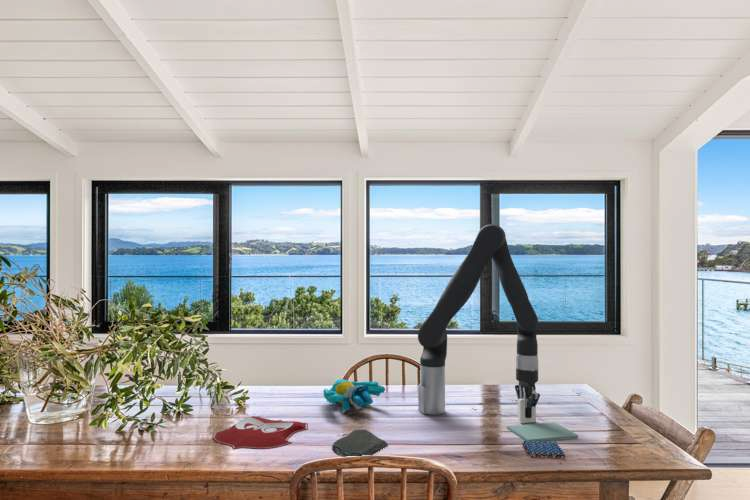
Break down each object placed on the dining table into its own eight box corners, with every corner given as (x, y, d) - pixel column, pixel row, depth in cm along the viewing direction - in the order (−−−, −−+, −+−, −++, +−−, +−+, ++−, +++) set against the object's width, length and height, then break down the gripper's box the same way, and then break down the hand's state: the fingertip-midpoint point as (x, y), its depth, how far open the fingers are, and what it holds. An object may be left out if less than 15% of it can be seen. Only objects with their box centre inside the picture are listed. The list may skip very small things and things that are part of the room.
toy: (391, 417, 186) (357, 410, 207) (394, 383, 189) (360, 380, 210) (338, 414, 175) (308, 408, 196) (342, 378, 178) (311, 376, 199)
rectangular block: (520, 423, 176) (520, 400, 176) (517, 421, 178) (518, 398, 178) (535, 421, 178) (535, 399, 178) (533, 420, 179) (533, 397, 179)
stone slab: (388, 462, 143) (388, 455, 143) (328, 461, 144) (328, 454, 144) (388, 433, 167) (388, 427, 167) (336, 432, 168) (337, 426, 168)
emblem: (191, 436, 156) (247, 408, 184) (191, 446, 156) (247, 416, 184) (275, 448, 146) (319, 417, 174) (275, 458, 146) (319, 426, 174)
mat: (527, 442, 158) (527, 439, 158) (507, 428, 171) (507, 426, 171) (578, 437, 162) (578, 435, 162) (554, 424, 175) (554, 422, 175)
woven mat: (520, 445, 157) (520, 439, 157) (556, 447, 156) (556, 440, 156) (527, 459, 146) (527, 452, 146) (565, 461, 145) (565, 453, 145)
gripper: (507, 363, 183) (507, 411, 183) (527, 372, 170) (527, 424, 170) (526, 362, 185) (526, 410, 185) (547, 370, 172) (547, 422, 172)
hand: (526, 416), depth 178 cm, fingers closed on rectangular block, 1 cm apart
